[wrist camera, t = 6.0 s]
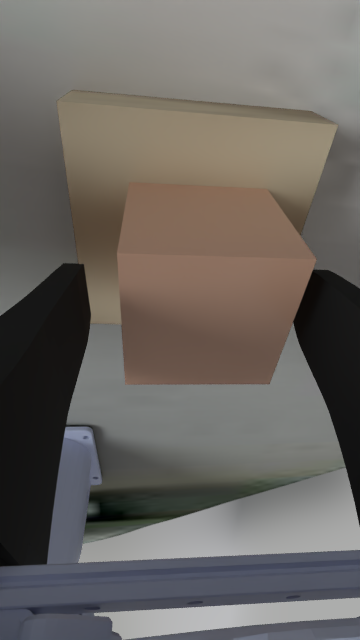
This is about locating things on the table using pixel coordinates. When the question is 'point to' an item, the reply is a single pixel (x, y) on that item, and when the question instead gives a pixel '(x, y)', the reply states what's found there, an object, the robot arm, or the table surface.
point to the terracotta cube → (207, 283)
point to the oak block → (176, 165)
